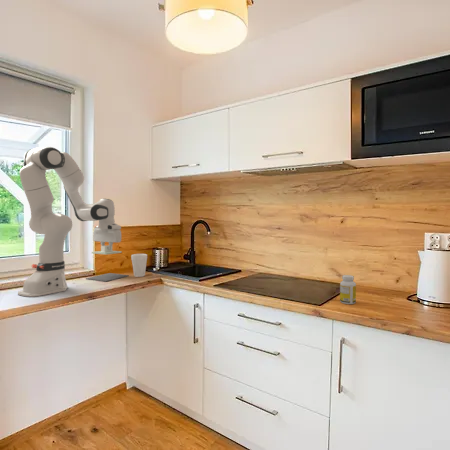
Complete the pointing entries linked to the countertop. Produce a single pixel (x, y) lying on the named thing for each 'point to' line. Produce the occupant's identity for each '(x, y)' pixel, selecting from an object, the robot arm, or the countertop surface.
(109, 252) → the lid
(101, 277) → the mat
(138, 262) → the foam cup
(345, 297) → the pill bottle
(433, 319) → the countertop surface
